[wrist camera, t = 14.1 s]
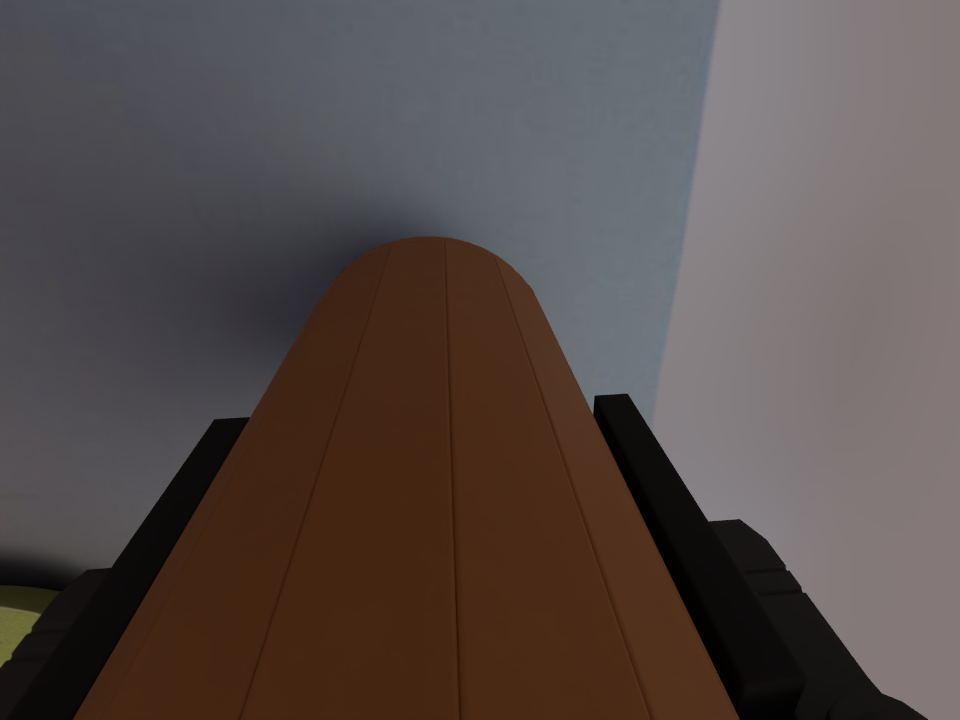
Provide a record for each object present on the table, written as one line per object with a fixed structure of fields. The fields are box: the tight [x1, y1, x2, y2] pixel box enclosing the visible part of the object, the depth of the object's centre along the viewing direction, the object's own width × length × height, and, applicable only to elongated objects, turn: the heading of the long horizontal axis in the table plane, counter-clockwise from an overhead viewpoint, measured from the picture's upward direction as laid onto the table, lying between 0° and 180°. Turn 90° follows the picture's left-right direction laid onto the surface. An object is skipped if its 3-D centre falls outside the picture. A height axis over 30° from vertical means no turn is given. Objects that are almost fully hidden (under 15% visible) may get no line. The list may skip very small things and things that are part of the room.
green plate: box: [0, 586, 61, 668], centre depth 27 cm, size 21×21×3 cm
